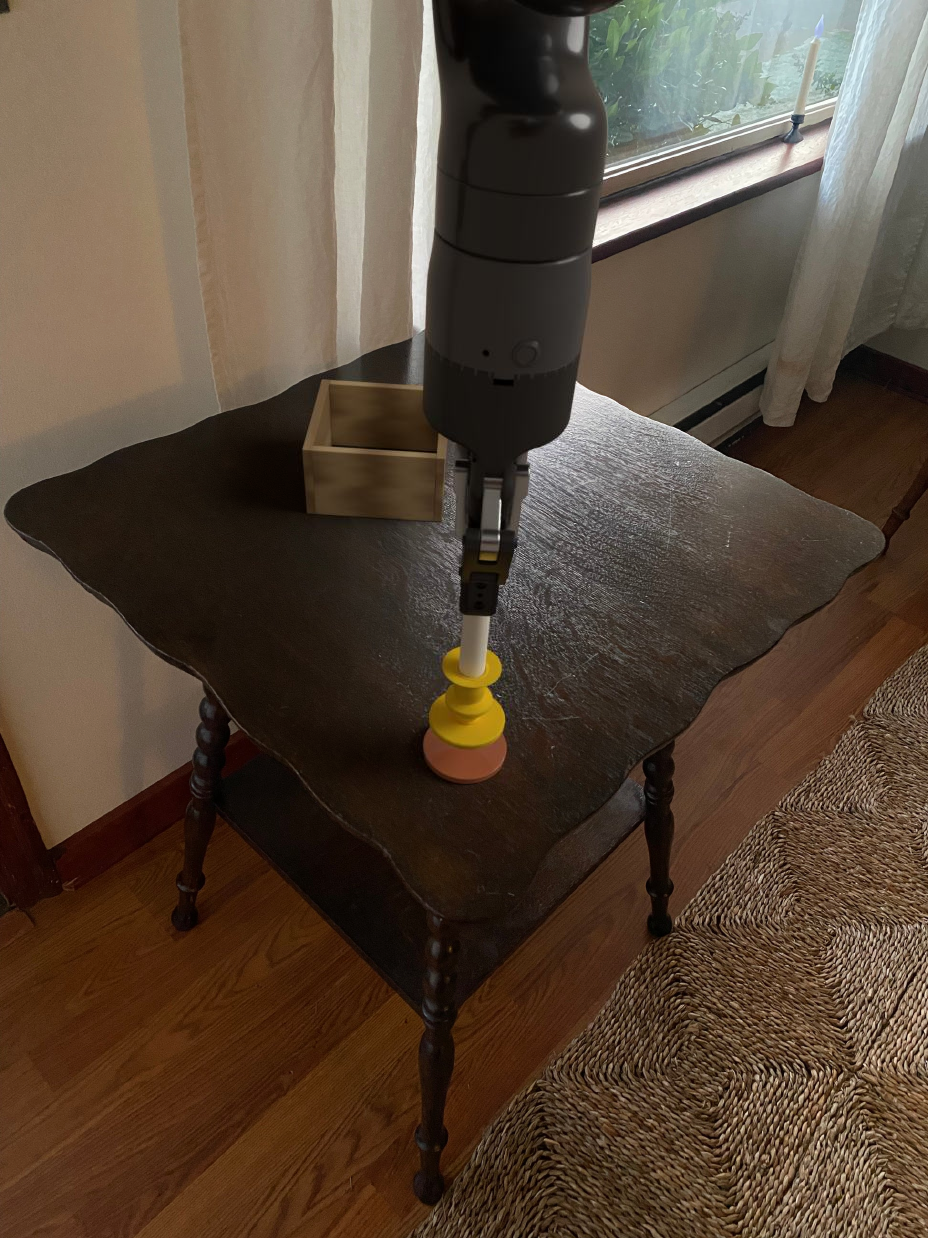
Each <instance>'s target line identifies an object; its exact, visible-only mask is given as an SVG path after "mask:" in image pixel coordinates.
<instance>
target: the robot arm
mask: <svg viewBox="0 0 928 1238" xmlns="http://www.w3.org/2000/svg"><path fill="white" fill-rule="evenodd" d="M624 1H625V0H431V9H432V10H431V11H432V12H431V13H432V22H433V23H432V24H433V35H434V36H433V38H434V46H435V56H436V65H437V73H438V83H439V97H440V123H439V124H440V126H439V132H438V133H439V134H438V140H437V141H438V142H437V153H436V175H435V176H436V177H435V202H434V203H435V204H434V228H433V237H432V238H433V240H432V246H431V252H430V256H429V262H428V267H427V275H426V289H425V290H426V291H425V321H424V345H423V346H424V348H423V375H422V376H423V377H422V378H423V379H422V381H423V382H422V386H423V403H422V405H423V411H424V414H425V417H426V419H427V420H428V422H429V424H430V425H431V426H432V427H433V428H434V429H435V430H436V431H437V432H438V433H439V434H441V435H442V436H444V437H445V438H447V441H448V440H449V441H450V442H452V443H454V461H453V465H454V466H453V475H452V476H453V478H452V491H453V493H454V494H455V497H456V499H455V503H456V504H455V516H454V536H455V537H456V538H457V539H458V540H460V541H461V545H462V546H461V554H459V555H458V564H459V565H460V566H458V572H457V573H458V574H457V575H458V577H459V576H460V581H459V586H460V590H459V605H458V607H459V608H458V610H459V612H460V613H461V615H463V614H464V615H472V616H490V617H493V616H494V615H495V614H496V613H497V609H498V599H499V593H500V592H499V591H500V586H505V585H506V583H507V580H509V575H510V569H511V565H512V562H513V558H514V555H515V549H518V545H519V544H518V541H519V538H518V536H519V528H520V519H521V511H522V505H523V503H522V502H523V500H524V499H525V498H527V496H528V494H529V486H530V477H531V463H530V462H528V457H529V456H528V455H529V452H530V451H533V450H534V449H539V448H542V447H544V446H546V445H549V444H550V443H552V442H553V441H555V440H557V439H558V438H559V437H560V436H561V435H562V434H563V433H564V432H565V431H566V429H567V427H568V425H569V423H570V420H571V415H572V409H573V403H574V397H575V391H576V386H577V380H578V379H577V377H578V372H579V366H580V361H581V355H582V349H583V341H584V336H585V328H586V323H587V317H588V313H589V306H590V296H591V288H592V260H593V247H594V240H595V234H596V228H597V222H598V214H599V208H600V201H601V195H602V190H603V183H604V176H605V170H606V165H607V164H606V163H607V156H608V146H609V117H608V116H609V115H608V112H607V108H606V105H605V103H604V100H603V98H602V96H601V94H600V92H599V90H598V87H597V86H596V84H595V82H594V79H593V77H592V73H591V68H590V61H589V60H590V59H589V57H590V56H589V49H590V29H591V27H590V26H591V16H593V15H596V14H600V13H602V12H605V11H607V10H609V9H612V8H614V7H615V6H617V5H619V4H620V3H623V2H624Z"/></svg>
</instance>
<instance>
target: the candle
mask: <svg viewBox="0 0 928 1238" xmlns="http://www.w3.org/2000/svg"><path fill="white" fill-rule="evenodd" d="M490 621H491V616H472V615H464V614H462V624H461V635H460V646H458V647H455V648H452V649H451V650H450V651H448V652H447V653H446V654H445V656H444V657H443V660H442V662H441V669H442V672H443V675H444V676H445V677H446V678H447V679H448V681H450V682H451V683H452V684H450V685H449V687H448V688H447V689H446V691H445V692H444V693H442V694H441V695H440V696H438V697H436V699H435V700H434V701H433V702H432V704H431V707H430V709H429V712H428V713H429V714H428V724H429V728H430V727H431V730H432V732H433V733H434V734H435V736H436V737H437V738H438V739H439V740H441V741H442V742H443V743H445V744H447V745H449V746H451V747H454V748H459V749H463V750H474V749H479V748H483V747H486V746H488V745H490V744H492V743H493V742H494V741H496V740H497V739H498V738H499V737H500V735H501V734H503V732H504V729H505V724H506V716H505V712H504V709H503V707H502V705H501V704H500V703H499V702H498V701H497V699H495V698H494V697H493V693H492V691H491V690H490V689H489V688H488V686H491V685H493V684H494V683H496V682H497V680H499V678H500V677H501V674H502V671H503V668H502V663H501V660H500V658H499V657H498V656H497V655H496V654H495V653H494V652H492V650H490V649H488V641H489V632H490V623H491V622H490Z"/></svg>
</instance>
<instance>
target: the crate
mask: <svg viewBox="0 0 928 1238" xmlns="http://www.w3.org/2000/svg"><path fill="white" fill-rule="evenodd" d="M422 403H423V385H413V384H397V383H381V382H367V381H366V382H365V381H355V380H354V381H351V380H338V379H337V380H336V379H321V381H320V386H319V388H318V391H317V395H316V399H315V403H314V406H313V411H312V413H311V416H310V421H309V425H308V428H307V432H306V435H305V438H304V442H303V446H302V449H301V451H302V452H301V453H302V463H303V465H302V466H303V477H304V479H303V480H304V493H305V504H306V514H308V515H323V516H324V515H325V516H339V517H340V516H341V517H357V518H371V519H372V518H373V519H388V520H389V519H391V520H405V521H420V522H421V521H423V522H437V523H442V522H443V511H444V499H445V498H444V497H445V496H444V495H445V482H446V467H447V454H448V453H447V452H448V451H447V450H448V439H447V438H445V437H444V436H442V435H441V434H439V433H438V432H437V431H436V430H435V429H434V428H433V427H432V426H431V425H430V424H429V422H428V420H427V419H426V417H425V414H424V411H423V405H422ZM339 446H340V447H339ZM342 446H343V447H342ZM344 446H345V447H344ZM355 447H357V448H355ZM370 448H371V449H370ZM373 448H375V449H373ZM402 450H403V451H402ZM405 450H406V451H405ZM418 451H420V452H418ZM421 451H422V452H421ZM433 452H434V453H433Z"/></svg>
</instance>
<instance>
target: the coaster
mask: <svg viewBox="0 0 928 1238" xmlns="http://www.w3.org/2000/svg"><path fill="white" fill-rule="evenodd" d="M507 745H508V744H507V741H506V738H505V735H504V733H502V734H501V735H500V737H499V738H498V739H497V740H496V741H494V742H493V743H492V744H490V745H488V746H486V747H483V748H479V749H474V750H463V749H459V748H454V747H451V746H449V745H447V744H445V743H443V742H442V741H441V740H439V739H438V738H437V737H436V736H435V734H434V733H433V732H432V730H431V727H430V726H429V727H428V729H427V730H426V732H425V734H424V737H423V741H422V755H423V757H424V761H425V763H426V765H427V767H429V769H430V770H431V771H432V772H433V773H434V774H435V775H436V776H438V777H439V778H442V779H443V780H445V781H448V782H450V783H455V784H459V785H461V784H462V785H472V784H473V785H474V784H478V783H482V782H484V781H486V780H489V779H491V778H492V777H493V776H495V775H496V774H497V773H498V772H499V771H500V770H501V769H502V767H503V766H504V764H505V762H506V761H505V760H506V757H507V751H508V750H507V749H508V747H507Z"/></svg>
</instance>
